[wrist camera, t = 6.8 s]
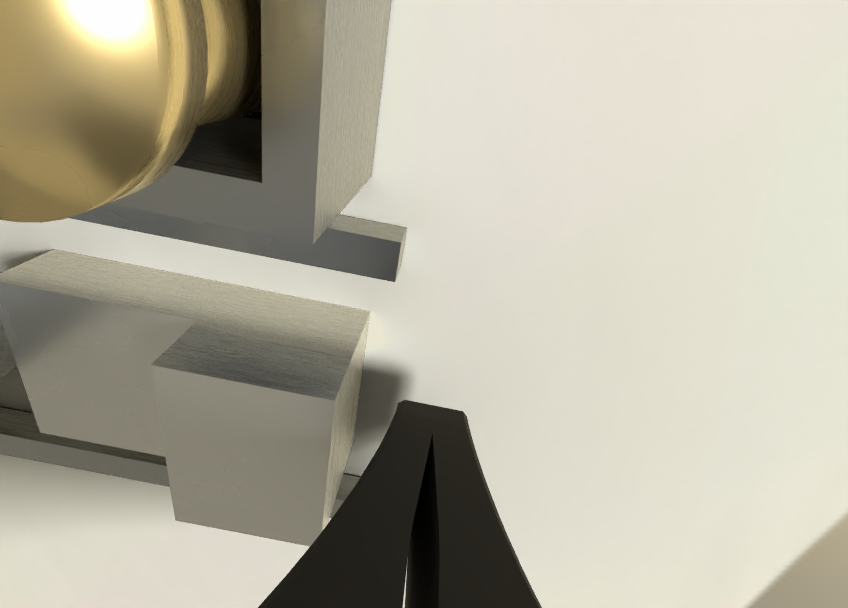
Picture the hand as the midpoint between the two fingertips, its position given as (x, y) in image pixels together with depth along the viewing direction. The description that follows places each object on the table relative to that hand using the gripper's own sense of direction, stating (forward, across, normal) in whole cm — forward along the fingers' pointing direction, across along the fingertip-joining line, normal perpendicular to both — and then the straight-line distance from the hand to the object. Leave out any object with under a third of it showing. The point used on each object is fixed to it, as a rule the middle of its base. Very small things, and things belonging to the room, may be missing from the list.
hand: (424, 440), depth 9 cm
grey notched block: (+2, +5, 0) cm, 5 cm away
